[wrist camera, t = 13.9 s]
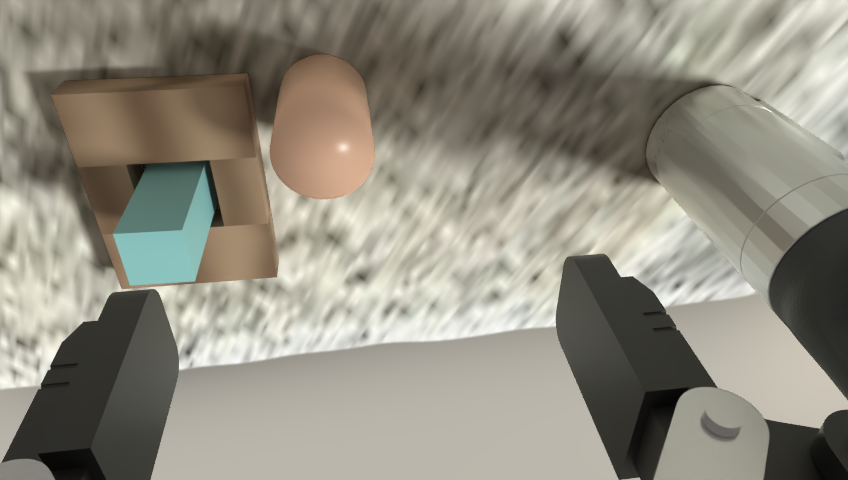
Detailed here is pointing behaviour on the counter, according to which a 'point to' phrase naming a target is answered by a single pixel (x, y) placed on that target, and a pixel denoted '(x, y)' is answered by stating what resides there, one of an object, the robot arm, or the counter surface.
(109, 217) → the board
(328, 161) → the round peg
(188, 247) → the square peg
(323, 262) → the counter surface
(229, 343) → the counter surface
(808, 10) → the counter surface
